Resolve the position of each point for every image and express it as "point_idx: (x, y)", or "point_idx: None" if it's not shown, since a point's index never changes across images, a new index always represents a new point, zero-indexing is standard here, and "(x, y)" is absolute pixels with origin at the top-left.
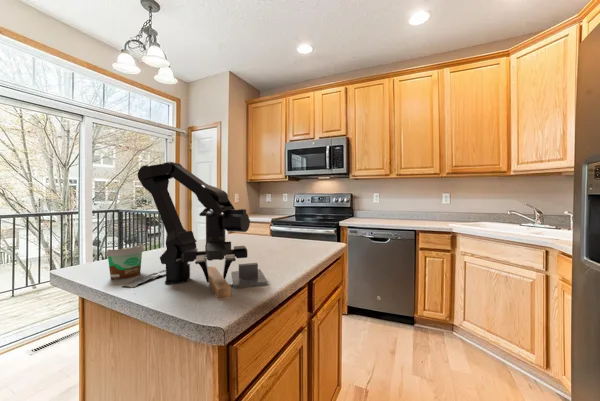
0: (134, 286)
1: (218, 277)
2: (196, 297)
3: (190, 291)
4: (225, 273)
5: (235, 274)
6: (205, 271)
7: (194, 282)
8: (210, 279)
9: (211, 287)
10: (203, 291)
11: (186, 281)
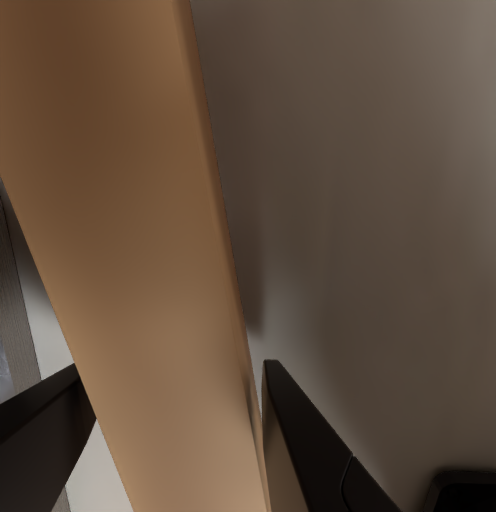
0: None
1: (135, 355)
2: (409, 7)
3: (441, 239)
4: (12, 407)
5: None
6: (332, 473)
7: (375, 450)
8: (243, 367)
9: (235, 272)
10: (318, 192)
11: (443, 475)
